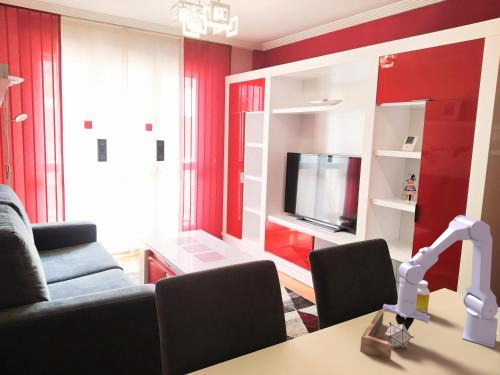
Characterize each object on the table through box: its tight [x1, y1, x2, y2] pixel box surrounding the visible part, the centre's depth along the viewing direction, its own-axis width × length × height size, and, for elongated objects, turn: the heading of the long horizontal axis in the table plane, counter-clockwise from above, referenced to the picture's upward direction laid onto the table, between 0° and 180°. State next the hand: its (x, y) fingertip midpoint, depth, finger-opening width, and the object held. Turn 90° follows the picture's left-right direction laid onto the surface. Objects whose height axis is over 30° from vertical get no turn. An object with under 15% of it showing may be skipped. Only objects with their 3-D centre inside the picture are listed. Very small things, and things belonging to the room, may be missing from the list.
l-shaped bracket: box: [359, 309, 393, 362], centre depth 127 cm, size 9×24×5 cm, turn 148°
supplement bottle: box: [415, 279, 431, 315], centre depth 148 cm, size 7×7×13 cm
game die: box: [381, 321, 415, 350], centre depth 122 cm, size 9×8×10 cm
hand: (403, 336), depth 127 cm, fingers closed
